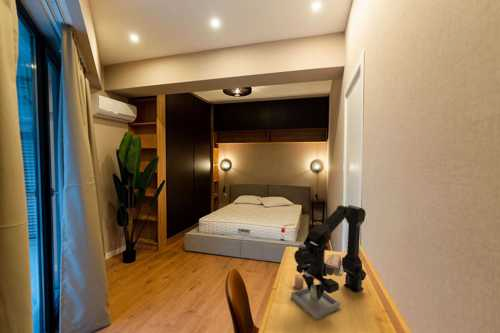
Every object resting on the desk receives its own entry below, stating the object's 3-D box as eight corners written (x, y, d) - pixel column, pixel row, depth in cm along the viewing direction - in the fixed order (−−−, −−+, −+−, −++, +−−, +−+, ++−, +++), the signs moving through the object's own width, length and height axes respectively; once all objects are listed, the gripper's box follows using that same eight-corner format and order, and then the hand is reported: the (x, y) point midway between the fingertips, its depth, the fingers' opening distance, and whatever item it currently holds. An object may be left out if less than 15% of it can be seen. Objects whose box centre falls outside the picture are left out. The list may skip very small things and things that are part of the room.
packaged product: (342, 268, 112) (323, 263, 116) (342, 277, 112) (322, 271, 117) (345, 255, 128) (327, 251, 132) (344, 263, 128) (327, 258, 133)
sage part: (321, 299, 89) (322, 288, 88) (315, 302, 87) (315, 290, 87) (314, 294, 92) (315, 283, 92) (308, 297, 90) (308, 285, 90)
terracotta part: (304, 288, 100) (305, 277, 100) (298, 290, 98) (299, 279, 98) (299, 283, 104) (299, 273, 103) (292, 285, 102) (293, 275, 102)
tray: (339, 308, 87) (340, 302, 87) (315, 320, 80) (315, 313, 80) (314, 289, 99) (314, 284, 99) (291, 298, 92) (291, 292, 92)
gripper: (349, 266, 85) (346, 304, 85) (314, 248, 101) (312, 280, 101) (330, 272, 79) (327, 312, 80) (296, 252, 95) (294, 286, 96)
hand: (315, 296), depth 89 cm, fingers closed on sage part, 4 cm apart
